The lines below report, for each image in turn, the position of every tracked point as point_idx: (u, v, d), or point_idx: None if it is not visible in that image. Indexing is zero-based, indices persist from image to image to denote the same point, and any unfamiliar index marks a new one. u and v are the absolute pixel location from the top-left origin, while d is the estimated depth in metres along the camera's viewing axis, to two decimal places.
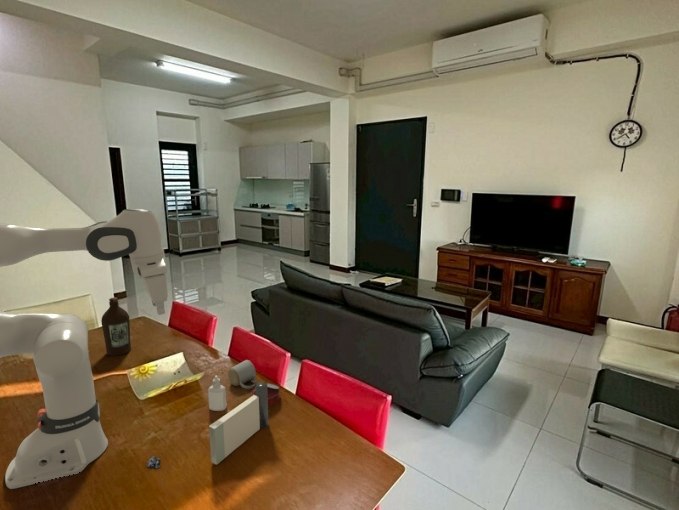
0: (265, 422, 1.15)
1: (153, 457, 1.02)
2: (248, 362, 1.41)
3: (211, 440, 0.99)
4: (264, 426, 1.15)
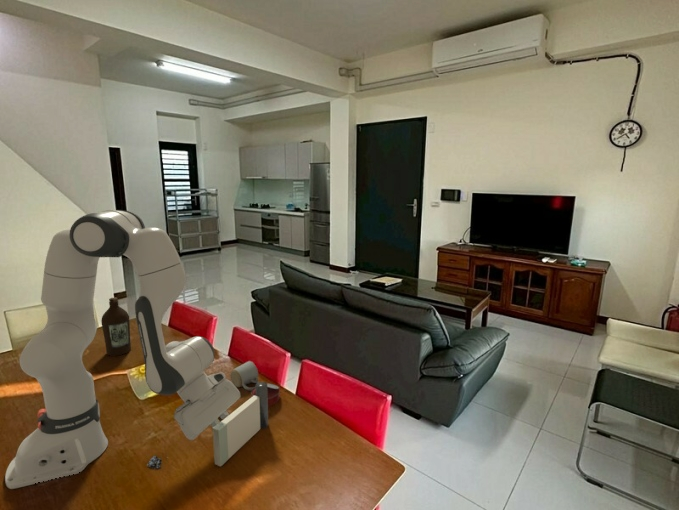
0: (265, 422, 1.15)
1: (154, 457, 1.02)
2: (251, 363, 1.40)
3: (215, 442, 0.98)
4: (264, 426, 1.15)
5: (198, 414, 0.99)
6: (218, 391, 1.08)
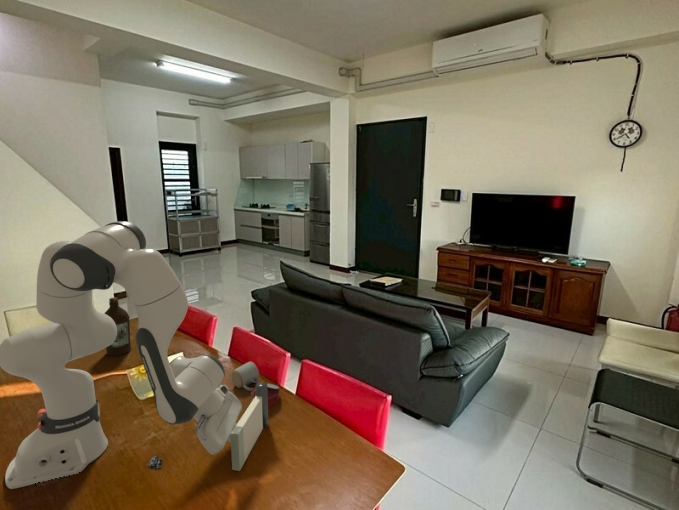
0: (265, 422, 1.15)
1: (155, 457, 1.02)
2: (251, 364, 1.40)
3: (233, 447, 0.96)
4: (264, 426, 1.15)
5: (217, 428, 0.98)
6: (225, 403, 1.07)
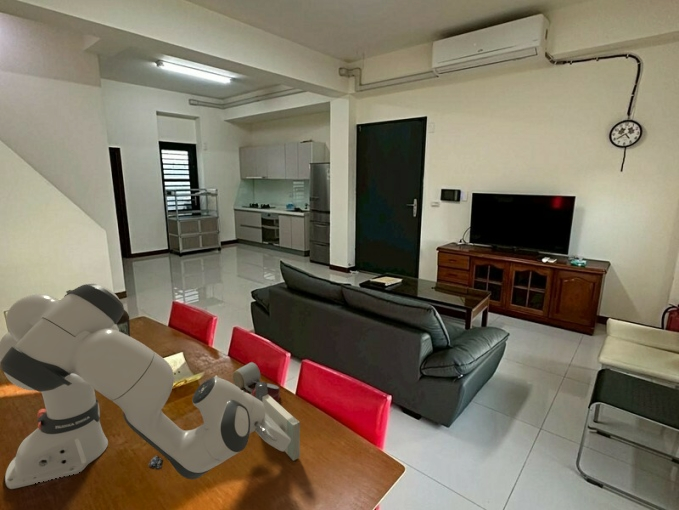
0: None
1: (156, 457, 1.02)
2: (253, 364, 1.40)
3: (295, 437, 1.00)
4: None
5: (273, 427, 0.95)
6: None
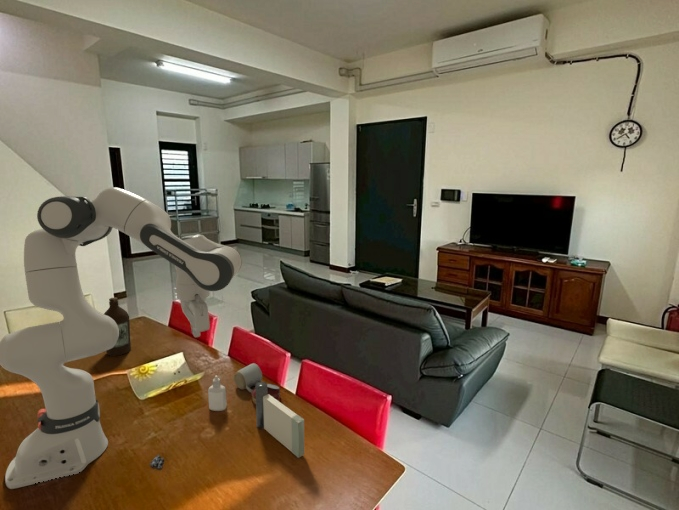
0: None
1: (158, 456, 1.02)
2: (255, 365, 1.39)
3: (300, 434, 1.01)
4: None
5: None
6: None
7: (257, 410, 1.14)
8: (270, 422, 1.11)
